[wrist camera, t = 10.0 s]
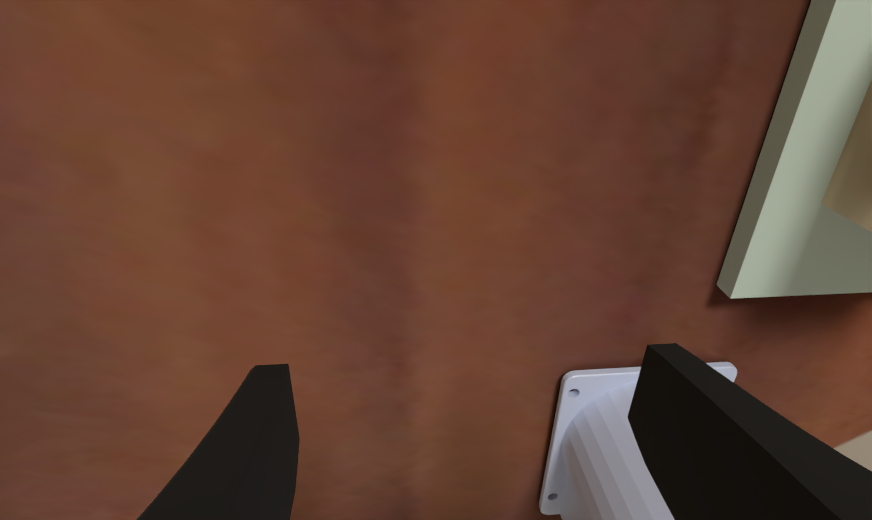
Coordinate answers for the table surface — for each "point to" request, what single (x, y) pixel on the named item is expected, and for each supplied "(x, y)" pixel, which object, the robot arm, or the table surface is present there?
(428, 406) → the table surface
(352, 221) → the table surface
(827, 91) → the pin base
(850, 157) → the collar block
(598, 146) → the table surface
